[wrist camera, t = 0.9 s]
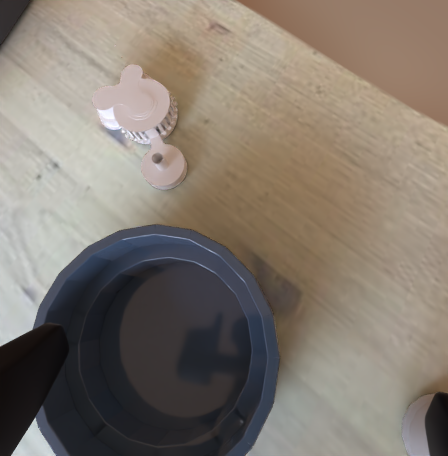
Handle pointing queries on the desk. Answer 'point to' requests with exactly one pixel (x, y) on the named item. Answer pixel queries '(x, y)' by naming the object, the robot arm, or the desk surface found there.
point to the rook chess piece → (416, 426)
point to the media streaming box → (10, 15)
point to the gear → (144, 123)
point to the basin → (159, 349)
